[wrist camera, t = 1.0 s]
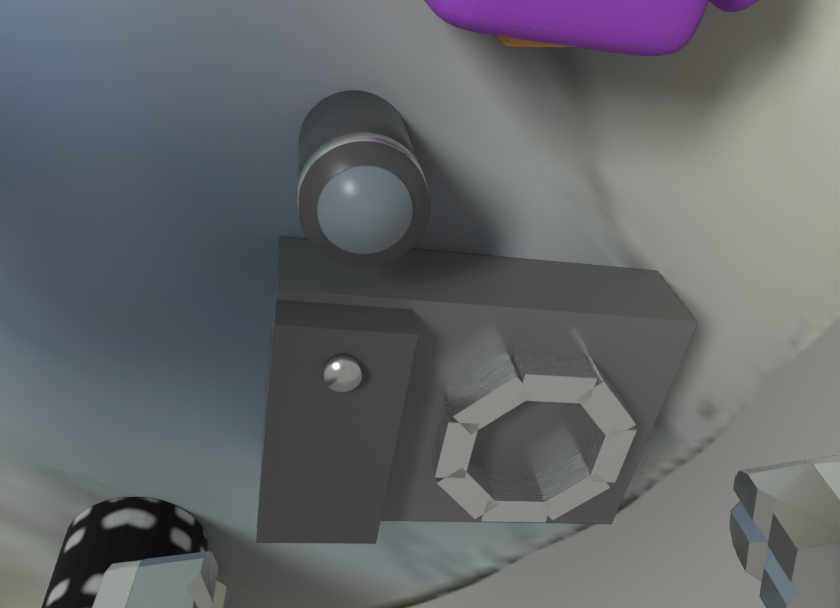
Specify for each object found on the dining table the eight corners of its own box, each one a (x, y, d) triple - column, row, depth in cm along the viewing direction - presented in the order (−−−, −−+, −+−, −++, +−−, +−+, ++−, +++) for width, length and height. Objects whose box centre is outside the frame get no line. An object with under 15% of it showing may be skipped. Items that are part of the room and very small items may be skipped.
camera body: (261, 452, 43) (255, 559, 37) (279, 236, 36) (275, 323, 30) (584, 462, 47) (628, 560, 41) (656, 270, 40) (723, 353, 34)
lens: (293, 190, 35) (291, 265, 29) (303, 82, 32) (303, 139, 26) (400, 201, 36) (420, 275, 30) (417, 97, 34) (443, 155, 27)
